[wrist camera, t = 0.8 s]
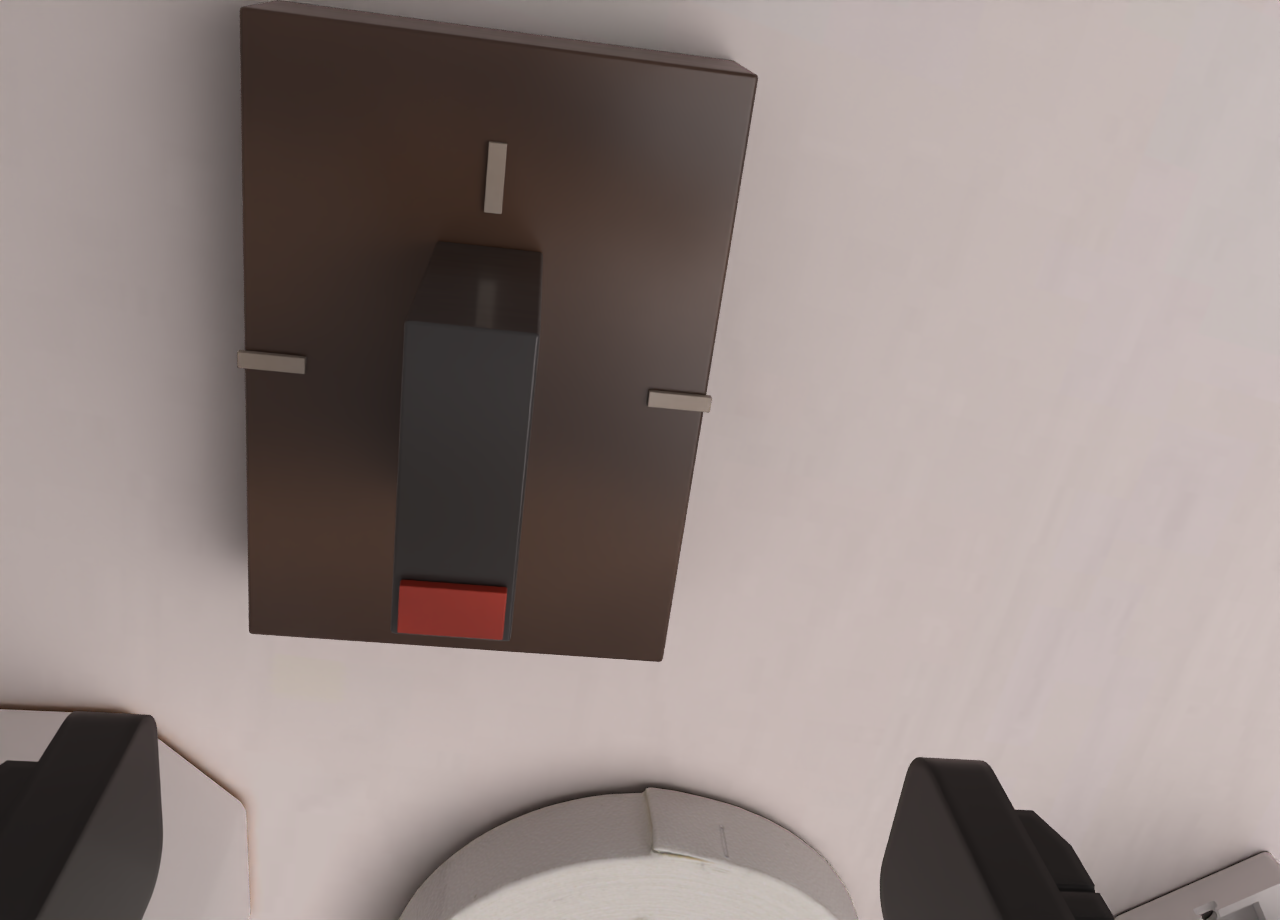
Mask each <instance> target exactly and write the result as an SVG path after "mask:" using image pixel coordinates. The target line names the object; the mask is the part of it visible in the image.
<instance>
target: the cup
mask: <svg viewBox="0 0 1280 920" xmlns="http://www.w3.org/2000/svg"><path fill="white" fill-rule="evenodd" d="M70 713H72V712H53V711H30V710H7V709H0V765H1V764H2V763H4V762H5V761H6V760H13V761H34V762H38V761H39V759H40V758H41V756H42V755H43V753H44V751H45V750H46V748H47V747H48V745H49V743H50V742H51V740H52V739H53V737H54V736H55V734H56V732H57V731H58V729H59V728H60V726H61V725H62V723H63V721H64V720H65V719H66V717H67V716H68V715H69V714H70ZM158 751H159V768H160V785H161V802H162V820H163V846H162V855H161V862H160V868H159V872H158V877H157V881H156V884H155V888H154V891H153V894H152V896H151V899H150V902H149V904H148V906H147V909H146V911H145V913H144V916H143V918H142V920H249V917H250V913H251V910H250V887H249V864H248V842H247V819H246V810H245V808H244V806H243V805H242V803H241V802H240V801H239V800H237V799H236V798H235V797H234V796H232V795H231V794H230V793H228V792H227V791H226V790H224V789H223V788H222V787H221V786H219V785H218V784H217V783H215V782H214V781H213V780H211V779H210V778H209V777H208V776H206V775H205V774H204V773H202V772H201V771H200V770H198V769H197V768H196V767H195V766H193V765H192V764H191V763H189V762H188V761H187V760H185V759H184V758H183V757H181V756H180V755H179V754H178V753H176V752H175V751H174V750H172V749H171V748H170V747H168V746H167V745H166V744H165V743H163V742H162V741H161V740H159V739H158Z"/></svg>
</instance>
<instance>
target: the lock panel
mask: <svg viewBox="0 0 1280 920" xmlns="http://www.w3.org/2000/svg"><path fill="white" fill-rule="evenodd" d="M240 68H241V134H242V200H243V266H244V332H245V350H239V351H238V352H237V367H238V368H245V399H246V465H247V531H248V597H249V632H250V633H251V634H262V635H276V636H291V637H305V638H320V639H335V640H349V641H364V642H379V643H393V644H408V645H422V646H437V647H452V648H466V649H481V650H496V651H510V652H525V653H539V654H554V655H569V656H583V657H598V658H612V659H627V660H642V661H656V662H660V661H662V659H663V654H664V648H665V642H666V636H667V630H668V624H669V618H670V612H671V605H672V599H673V593H674V587H675V581H676V575H677V569H678V563H679V557H680V551H681V544H682V538H683V532H684V526H685V520H686V514H687V508H688V502H689V496H690V490H691V484H692V477H693V471H694V465H695V459H696V453H697V447H698V441H699V435H700V429H701V423H702V417H703V412H708V413H709V412H710V406H711V400H712V397H711V396H710V395H706V392H707V386H708V380H709V374H710V368H711V362H712V356H713V350H714V343H715V337H716V331H717V325H718V319H719V313H720V307H721V301H722V295H723V289H724V282H725V276H726V270H727V264H728V258H729V252H730V246H731V240H732V234H733V228H734V222H735V215H736V209H737V203H738V197H739V191H740V185H741V179H742V173H743V167H744V161H745V155H746V148H747V142H748V136H749V130H750V124H751V118H752V112H753V106H754V100H755V94H756V88H757V81H758V77H757V75H756V74H754V73H753V72H751V71H749V70H748V69H746V68H744V67H743V66H741V65H740V64H738V63H736V62H735V61H731V60H724V59H716V58H709V57H701V56H694V55H686V54H679V53H671V52H664V51H656V50H648V49H641V48H633V47H626V46H618V45H611V44H603V43H596V42H588V41H581V40H573V39H566V38H558V37H551V36H543V35H536V34H528V33H521V32H513V31H506V30H498V29H490V28H483V27H475V26H468V25H460V24H453V23H445V22H438V21H430V20H423V19H415V18H408V17H400V16H393V15H385V14H378V13H370V12H363V11H355V10H347V9H340V8H332V7H325V6H317V5H310V4H302V3H295V2H287V1H280V0H277V1H271V2H266V3H260V4H255V5H249V6H244V7H241V8H240ZM439 241H442V242H451V243H460V244H469V245H478V246H487V247H496V248H506V249H515V250H524V251H533V252H540V253H542V254H543V274H542V302H541V330H540V345H539V355H538V365H537V376H536V386H535V396H534V406H533V417H532V427H531V437H530V447H529V458H528V468H527V478H526V488H525V499H524V509H523V519H522V530H521V540H520V550H519V560H518V571H517V581H516V591H515V601H514V612H513V622H512V632H511V639H510V640H509V641H495V640H481V639H467V638H452V637H438V636H423V635H409V634H395V633H392V632H391V630H390V627H391V605H392V583H393V561H394V539H395V517H396V495H397V473H398V451H399V429H400V407H401V385H402V363H403V341H404V323H405V321H406V318H407V316H408V313H409V311H410V308H411V306H412V303H413V301H414V298H415V296H416V293H417V291H418V288H419V286H420V283H421V281H422V278H423V276H424V273H425V271H426V268H427V266H428V263H429V261H430V258H431V256H432V253H433V251H434V248H435V246H436V243H437V242H439Z"/></svg>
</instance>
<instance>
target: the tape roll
mask: <svg viewBox="0 0 1280 920" xmlns="http://www.w3.org/2000/svg"><path fill="white" fill-rule="evenodd" d="M399 920H858V917H857V914H856V911H855V908H854V905H853V903H852V900H851V898H850V896H849V893H848V891H847V889H846V887H845V886H844V884H843V883H842V881H841V880H840V878H839V876H838V875H837V873H836V872H835V871H834V870H833V868H832V867H831V866H830V865H829V864H828V862H827V861H826V860H825V859H824V858H823V857H821V856H820V855H819V854H818V853H817V852H816V851H815V850H814V849H813V848H812V847H810V846H809V845H808V844H806V843H805V842H804V841H802V840H801V839H800V838H798V837H797V836H795V835H794V834H793V833H791V832H790V831H788V830H786V829H785V828H783V827H781V826H779V825H777V824H775V823H774V822H772V821H770V820H768V819H766V818H764V817H762V816H759V815H757V814H754V813H752V812H749V811H747V810H745V809H742V808H740V807H737V806H734V805H730V804H727V803H724V802H720V801H716V800H712V799H709V798H705V797H701V796H696V795H692V794H687V793H683V792H678V791H673V790H666V789H658V788H646V789H645V791H644V792H642V793H626V794H608V795H600V796H592V797H586V798H581V799H576V800H571V801H567V802H563V803H559V804H555V805H551V806H548V807H544V808H541V809H538V810H535V811H532V812H530V813H527V814H525V815H522V816H520V817H517V818H515V819H512V820H510V821H508V822H506V823H504V824H502V825H500V826H498V827H496V828H494V829H492V830H490V831H488V832H486V833H484V834H483V835H481V836H480V837H478V838H476V839H475V840H473V841H471V842H470V843H469V844H467V845H466V846H464V847H463V848H461V849H460V850H459V851H457V852H456V853H455V854H453V855H452V856H451V857H450V858H448V859H447V860H446V861H445V862H444V863H443V864H441V865H440V866H439V867H438V868H437V869H436V870H435V871H434V872H433V873H432V874H431V875H430V876H429V877H428V878H427V879H426V881H425V882H424V883H423V884H422V885H421V886H420V888H419V889H418V890H417V892H416V893H415V894H414V896H413V897H412V898H411V900H410V901H409V903H408V905H407V906H406V908H405V909H404V911H403V913H402V915H401V917H400V918H399Z"/></svg>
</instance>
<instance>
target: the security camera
mask: <svg viewBox="0 0 1280 920" xmlns="http://www.w3.org/2000/svg"><path fill="white" fill-rule="evenodd" d="M1210 910H1213V913H1212V915H1211V916H1210V917H1209V918H1208V919H1206V920H1280V865H1279V863H1278V862H1277V861H1276V860H1275V858H1274V857H1273V856H1272V855H1271V854H1270V853H1268V852H1263V853H1260V854H1258V855H1256V856H1253V857H1251V858H1249V859H1247V860H1244V861H1242V862H1240V863H1237V864H1235V865H1233V866H1231V867H1228V868H1226V869H1224V870H1221V871H1219V872H1217V873H1215V874H1212V875H1210V876H1208V877H1205V878H1203V879H1201V880H1199V881H1196V882H1194V883H1192V884H1190V885H1187V886H1185V887H1183V888H1180V889H1178V890H1176V891H1174V892H1171V893H1169V894H1167V895H1164V896H1162V897H1160V898H1158V899H1155V900H1153V901H1151V902H1148V903H1146V904H1144V905H1142V906H1139V907H1137V908H1135V909H1132V910H1130V911H1128V912H1126V913H1123V914H1121V915H1119V916H1117V917H1116V918H1115V919H1114V920H1203V919H1202V916H1201V914H1203V913H1205V912H1208V911H1210Z"/></svg>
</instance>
